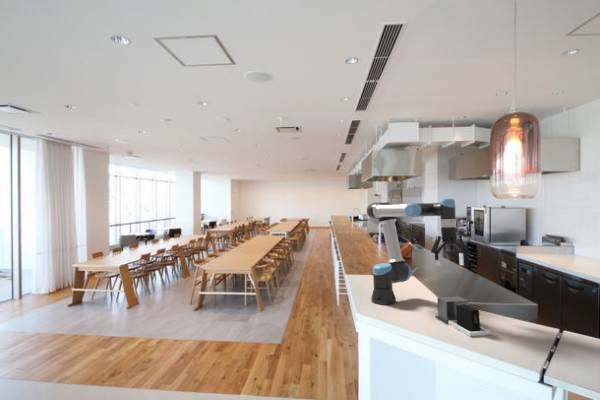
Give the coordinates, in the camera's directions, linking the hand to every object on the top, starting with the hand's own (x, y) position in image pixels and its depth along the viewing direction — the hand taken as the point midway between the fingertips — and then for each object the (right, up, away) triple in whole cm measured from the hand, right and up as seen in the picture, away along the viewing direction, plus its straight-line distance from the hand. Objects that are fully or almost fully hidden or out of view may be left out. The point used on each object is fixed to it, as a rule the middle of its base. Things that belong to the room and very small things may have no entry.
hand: (450, 265), depth 168 cm
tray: (-2, -26, -22) cm, 34 cm away
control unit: (-3, -26, -9) cm, 28 cm away
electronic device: (-2, -26, -21) cm, 33 cm away
